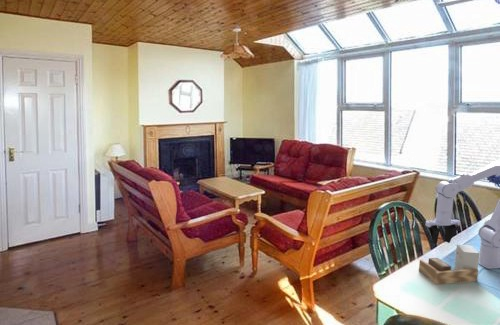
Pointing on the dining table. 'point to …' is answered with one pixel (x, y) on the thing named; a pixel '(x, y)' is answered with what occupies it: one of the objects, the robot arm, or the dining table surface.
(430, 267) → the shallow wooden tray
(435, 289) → the dining table surface
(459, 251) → the small box
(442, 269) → the brown rectangular block
